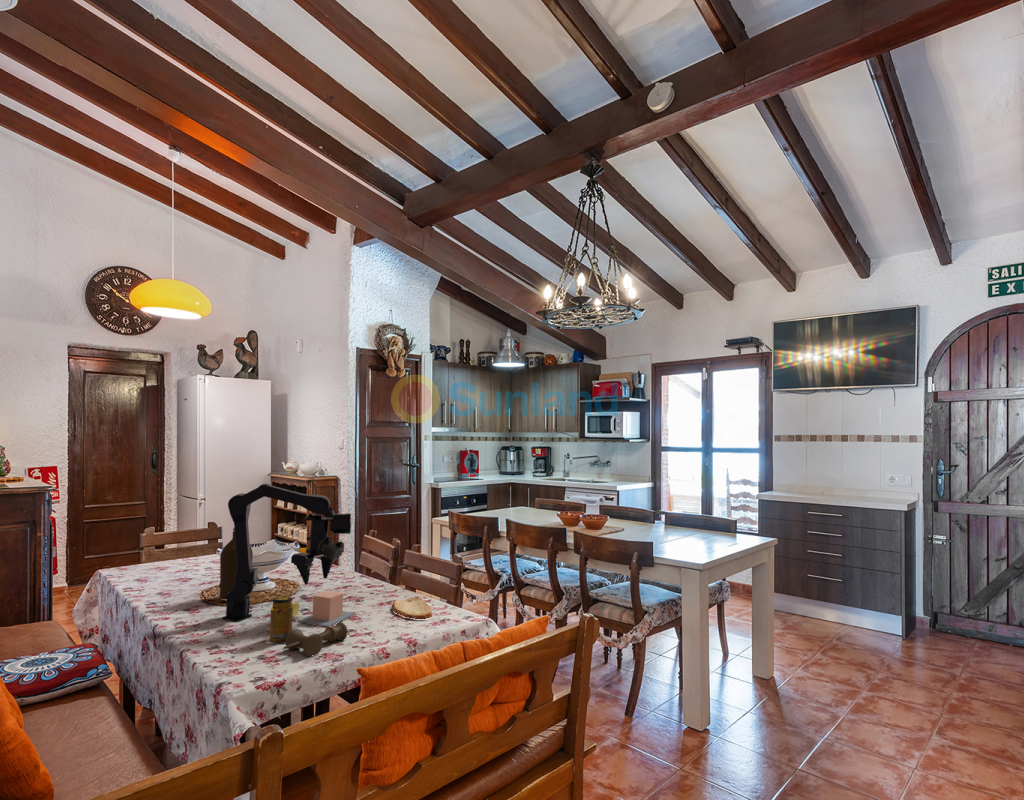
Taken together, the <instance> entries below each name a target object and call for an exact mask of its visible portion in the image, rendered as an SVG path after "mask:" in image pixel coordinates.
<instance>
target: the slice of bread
mask: <svg viewBox="0 0 1024 800" xmlns="http://www.w3.org/2000/svg"><path fill="white" fill-rule="evenodd" d="M392 610H393V611H394V612H395V613H397V614H400V615H403V616H405V617H409V618H415V619H426V618H430V617H432V616H433V612H432V608H431V607H430V605H428V603H427V602H426V601H425V600H424V599H423V598H421V597H420V596H419V595H417V596H413V597H410V598H407V599H405V600H398V599H395V600H394V601H393V603H392V604H391V611H392ZM393 611H392V612H393Z"/></svg>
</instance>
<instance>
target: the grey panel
mask: <svg viewBox="0 0 1024 800" xmlns="http://www.w3.org/2000/svg"><path fill="white" fill-rule="evenodd" d="M355 614H356V615H357V613H356V612H352V611H343V610H342V616H340V617H338V618H335V619H333V620H331V621H325V620H319V619H313V613H312V614H310V615H308V616H305V617H302V618H300V619H298V620H297V623H300V622H302V623H301V624H306V623H309V624H308V625H311V624H315V625H314V626H317V625H321V626H320V627H323V626H326V627H325V628H327V627H329V626H331V627H333V626H335V625H336V623H338V622H340V621H342V622H344V621H345V619H346V620H348V619H350V618H352V617H351V616H353V615H355ZM356 615H355V616H356ZM349 617H350V618H349ZM353 617H354V616H353ZM347 618H348V619H347ZM343 620H344V621H343ZM334 624H335V625H334ZM332 625H333V626H332Z"/></svg>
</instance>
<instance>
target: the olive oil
mask: <svg viewBox="0 0 1024 800" xmlns="http://www.w3.org/2000/svg"><path fill="white" fill-rule="evenodd" d="M232 530H233V531H232V539H231V540H230V541H229V542H228V543H227V544H226V545H225V546H223V548H222V550H221V552H220V555H219V575H220V576H219V577H220V578H219V584H218V585H219V587H218V588H219V599H220V598H222V599H226V595H227V594H228V593H229V592H230V590H231V589H232V588H233V587H234V582H235V575H236V570H237V557H236V543H235V529H234V527H233V529H232ZM253 553H254V552H253V549H252V547H251V546H250V555H251V564H253V558H254V557H253V555H254V554H253ZM249 595H250V593H249V594H248V595H247V596H249ZM249 597H250V596H249Z"/></svg>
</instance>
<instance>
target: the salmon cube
mask: <svg viewBox="0 0 1024 800" xmlns="http://www.w3.org/2000/svg"><path fill="white" fill-rule="evenodd" d="M312 599H313V600H312V601H313V602H312V614H313V619H319V620H325V621H331V620H333V619H335V618H338V617H340V616H342V611H343V607H344V606H343V604H344V592H336V591H332V590H325V591H322V592H319V593H316V594H315V595H313V597H312Z"/></svg>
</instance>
